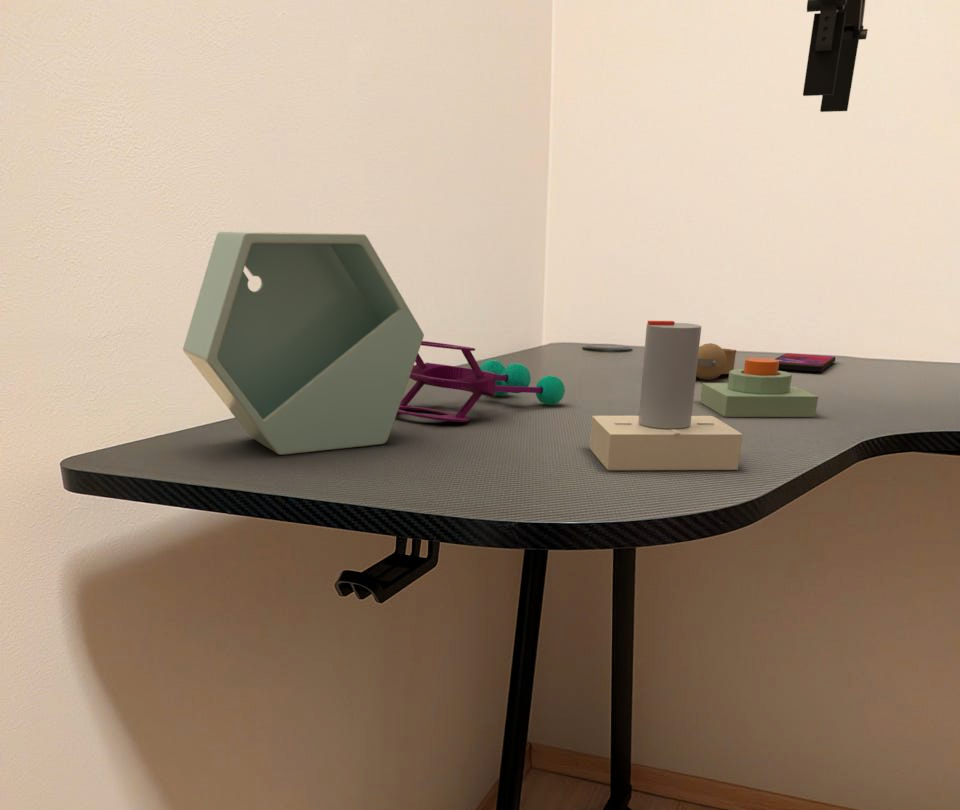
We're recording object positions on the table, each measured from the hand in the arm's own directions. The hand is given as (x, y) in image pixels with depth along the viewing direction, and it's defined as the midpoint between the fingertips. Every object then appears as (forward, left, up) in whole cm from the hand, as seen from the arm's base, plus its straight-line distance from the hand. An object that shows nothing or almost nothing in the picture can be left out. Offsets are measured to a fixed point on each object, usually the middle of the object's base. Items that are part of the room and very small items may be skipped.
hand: (826, 104), depth 92 cm
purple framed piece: (+36, +3, -30) cm, 47 cm away
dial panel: (+21, +27, -30) cm, 45 cm away
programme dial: (+21, +27, -27) cm, 43 cm away
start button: (+4, +3, -26) cm, 27 cm away
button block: (+4, +3, -30) cm, 31 cm away
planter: (+52, +20, -30) cm, 63 cm away
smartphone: (-16, -33, -30) cm, 48 cm away
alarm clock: (+4, -23, -30) cm, 38 cm away
